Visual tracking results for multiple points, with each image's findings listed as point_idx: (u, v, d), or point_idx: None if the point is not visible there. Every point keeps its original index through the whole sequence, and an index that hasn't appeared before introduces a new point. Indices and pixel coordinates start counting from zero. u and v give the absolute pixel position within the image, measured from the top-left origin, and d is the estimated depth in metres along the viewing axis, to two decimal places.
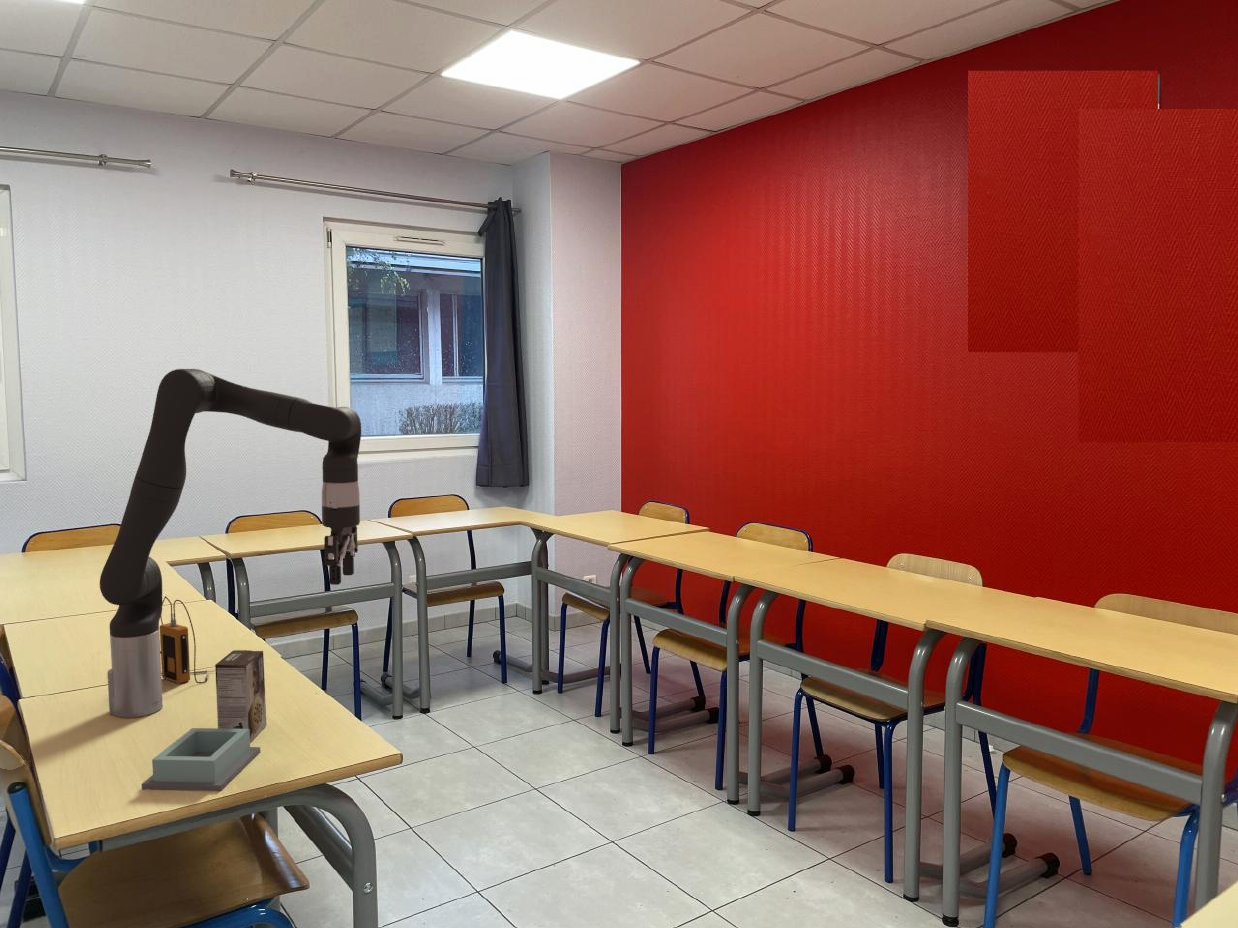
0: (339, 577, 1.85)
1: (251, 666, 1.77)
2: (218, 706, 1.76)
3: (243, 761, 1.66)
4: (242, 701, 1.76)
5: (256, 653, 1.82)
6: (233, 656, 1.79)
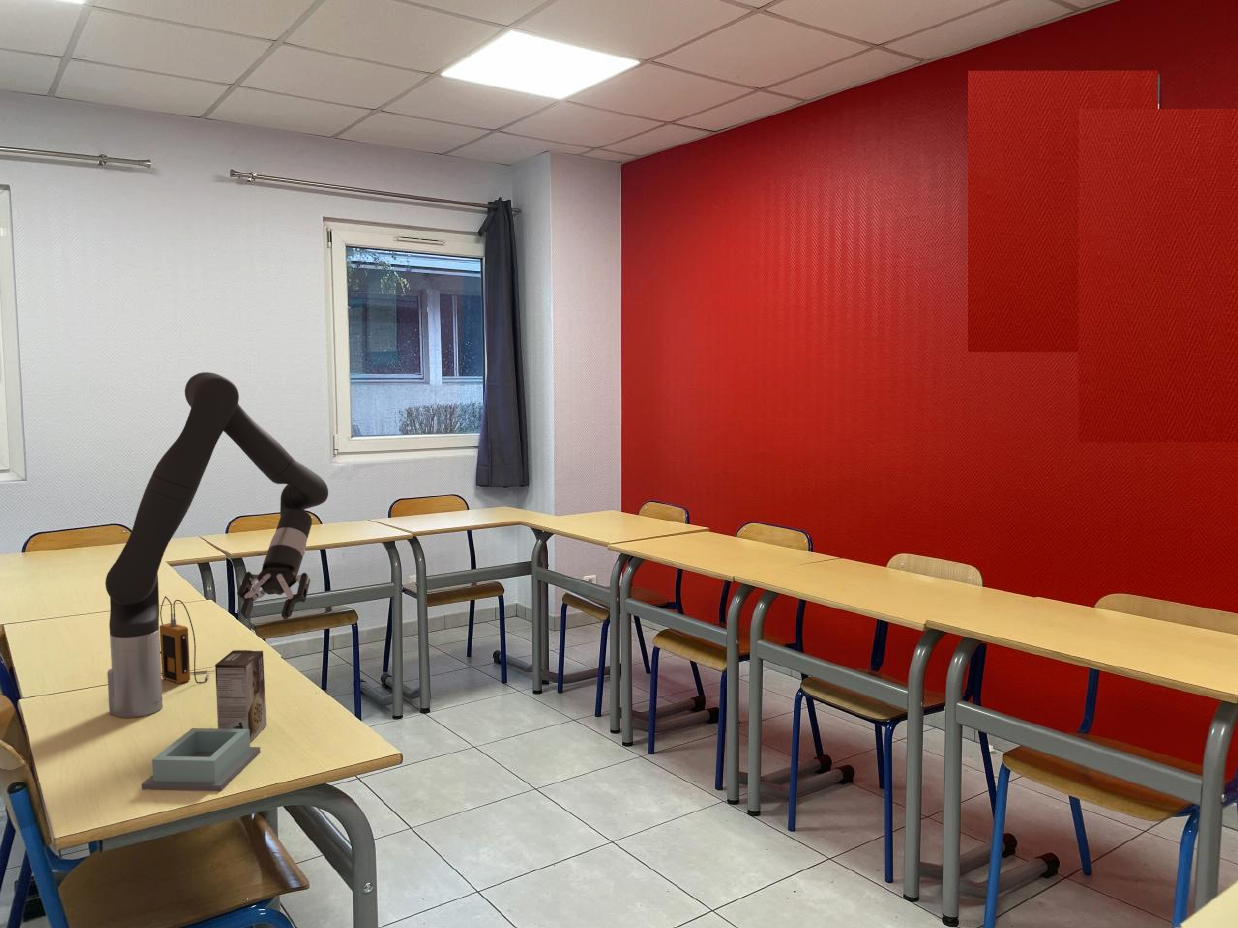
0: None
1: (251, 666, 1.77)
2: (218, 706, 1.76)
3: (243, 761, 1.66)
4: (242, 701, 1.76)
5: (256, 653, 1.82)
6: (233, 656, 1.79)
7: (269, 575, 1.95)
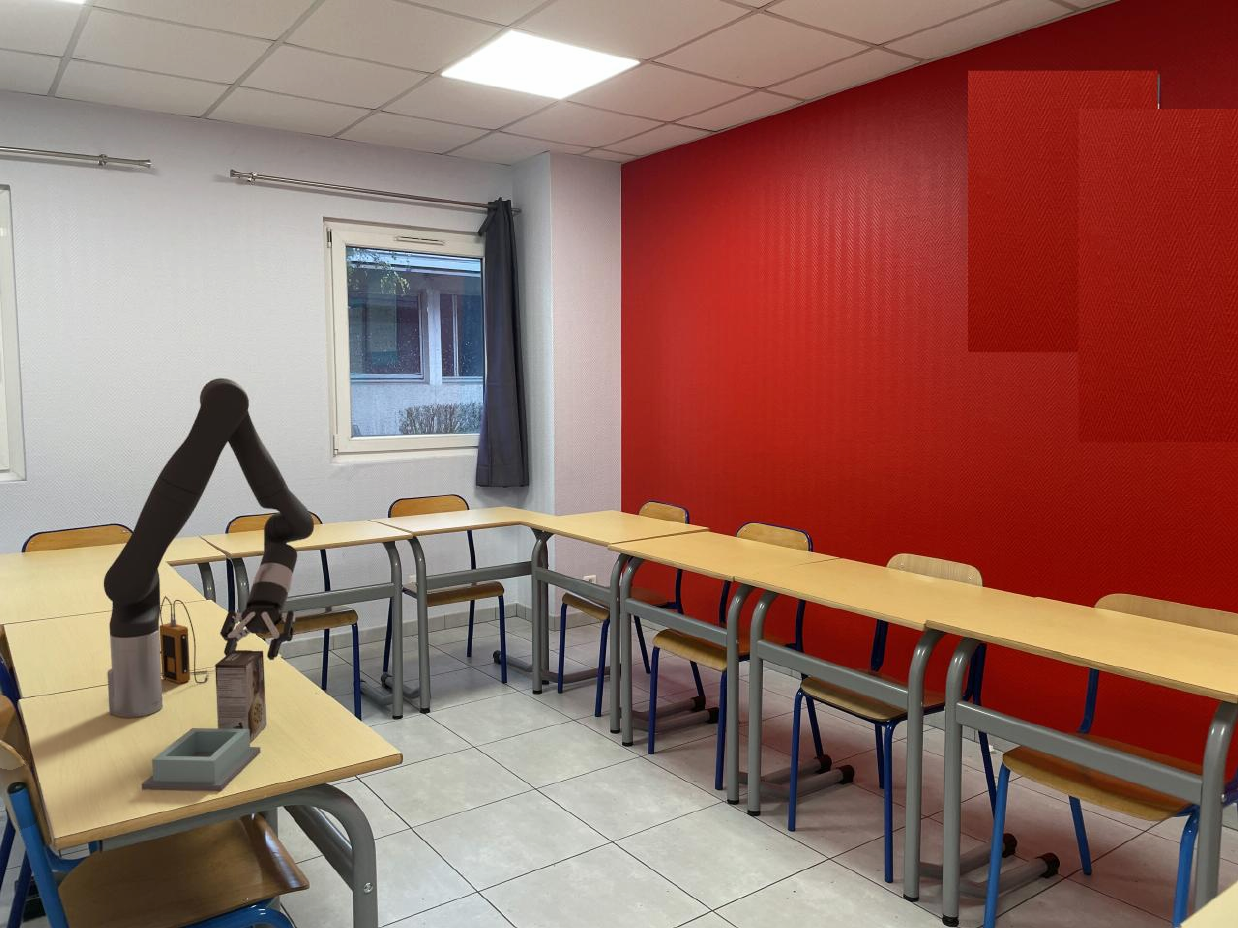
0: None
1: (251, 666, 1.77)
2: (218, 706, 1.76)
3: (243, 761, 1.66)
4: (242, 701, 1.76)
5: (256, 653, 1.82)
6: (233, 656, 1.79)
7: (254, 613, 1.88)
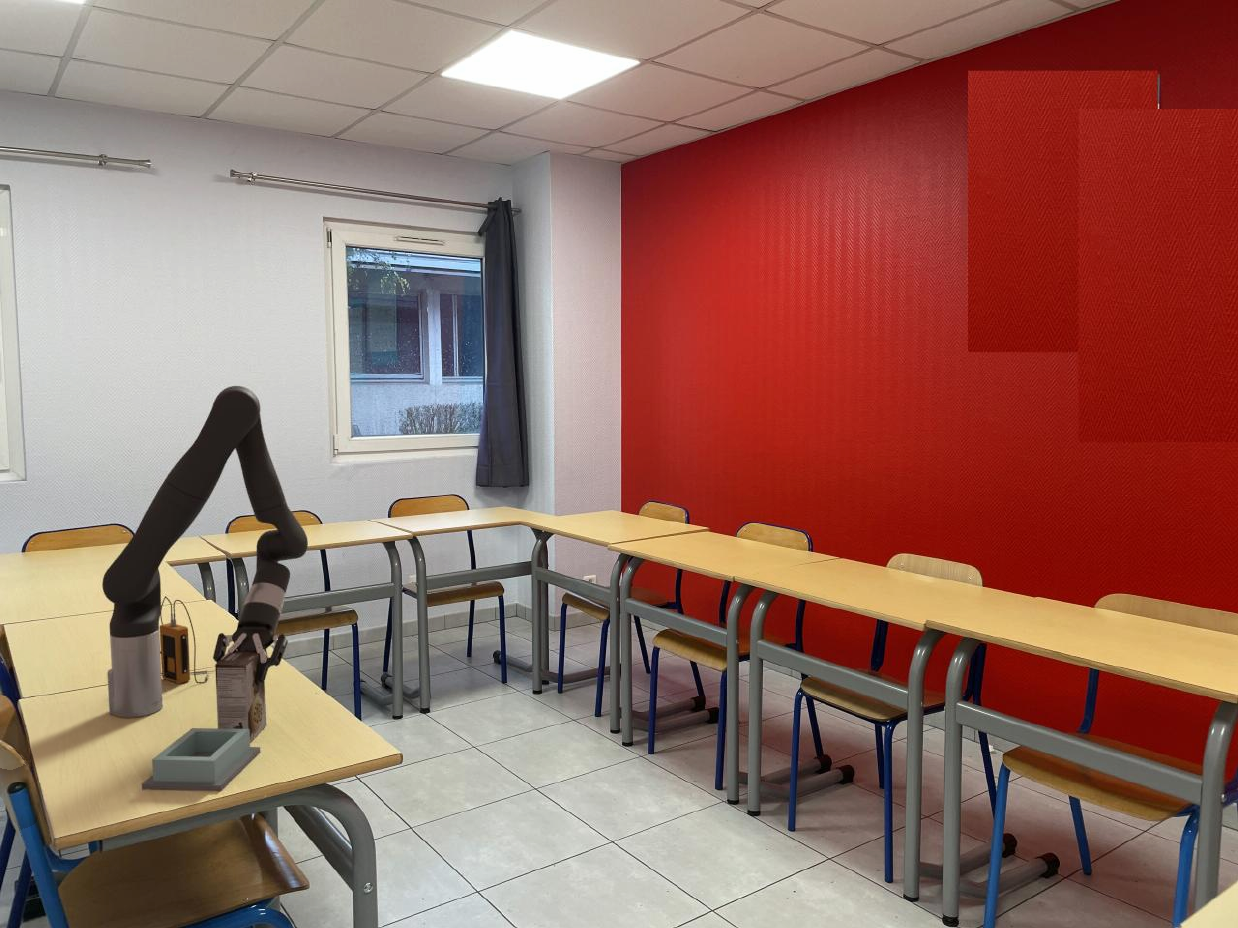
0: None
1: (251, 666, 1.77)
2: (218, 706, 1.76)
3: (243, 761, 1.66)
4: (242, 701, 1.75)
5: (256, 653, 1.82)
6: (233, 655, 1.79)
7: (245, 635, 1.84)
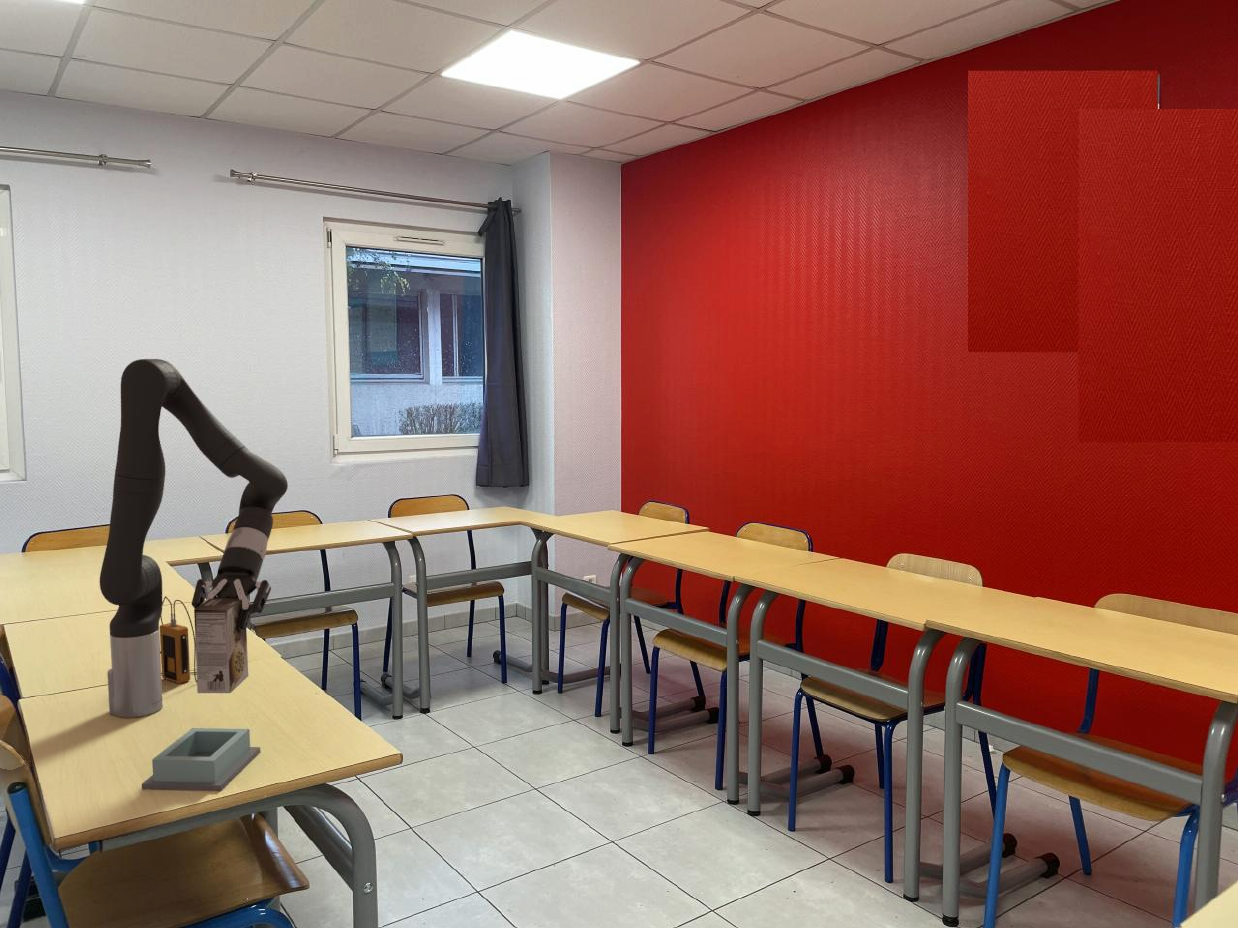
0: None
1: (232, 612, 1.68)
2: (197, 653, 1.66)
3: (243, 761, 1.66)
4: (223, 648, 1.66)
5: (237, 599, 1.72)
6: (213, 601, 1.70)
7: (225, 580, 1.74)
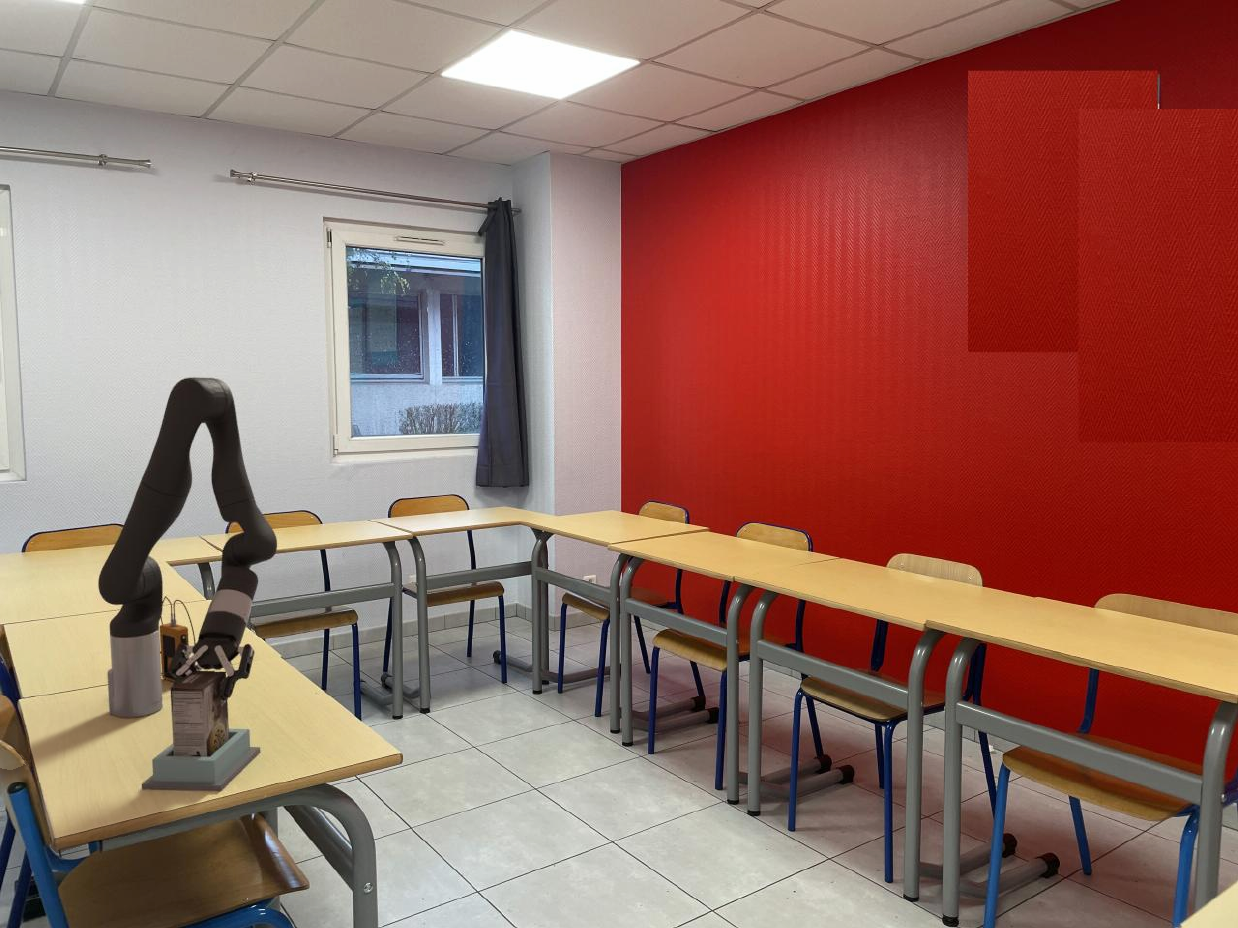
0: None
1: (210, 689, 1.61)
2: (174, 733, 1.60)
3: (243, 761, 1.66)
4: (200, 728, 1.60)
5: (217, 674, 1.66)
6: (191, 677, 1.64)
7: (206, 647, 1.67)
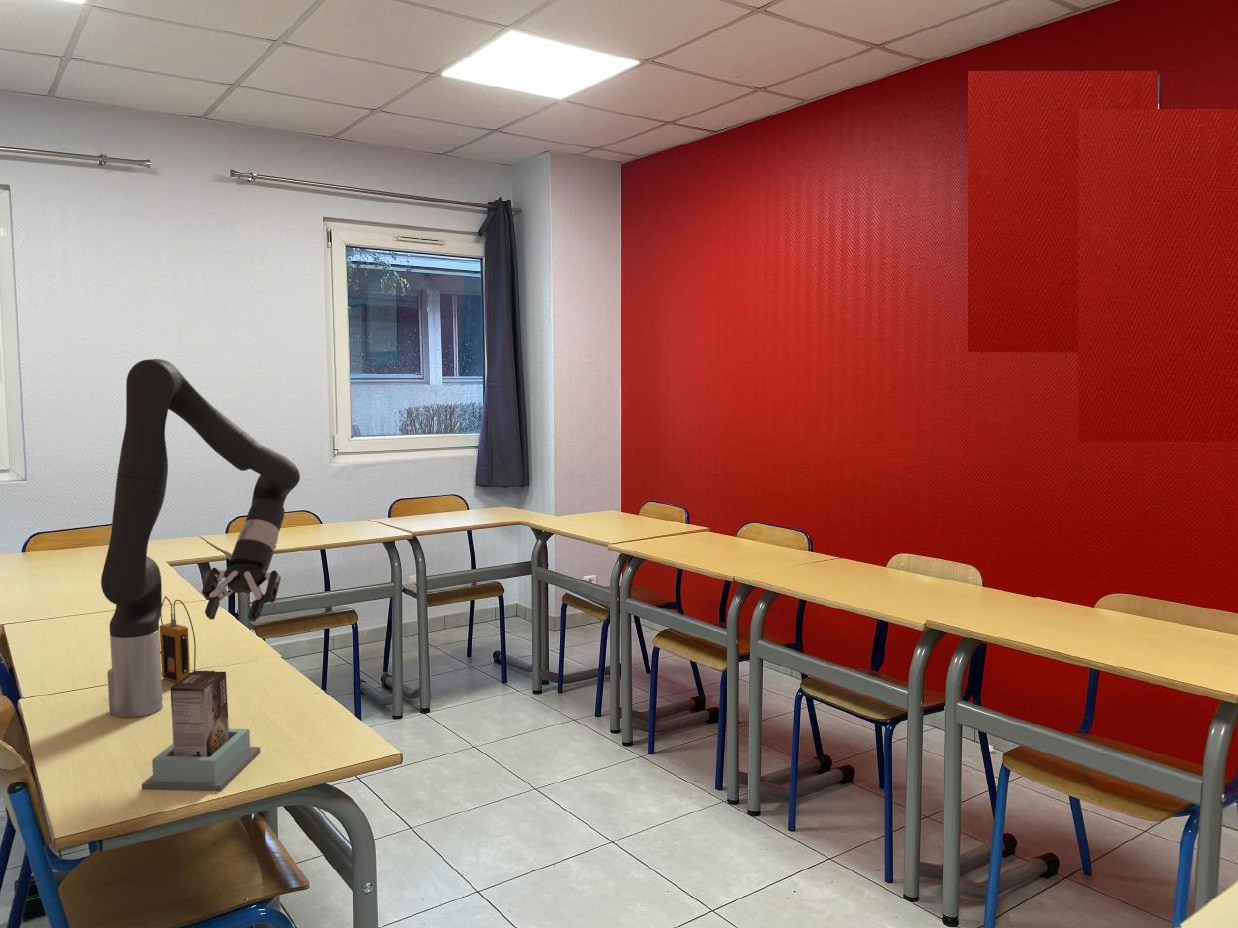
0: None
1: (210, 689, 1.61)
2: (174, 733, 1.60)
3: (243, 761, 1.66)
4: (200, 728, 1.60)
5: (217, 674, 1.66)
6: (191, 677, 1.64)
7: (236, 572, 1.81)
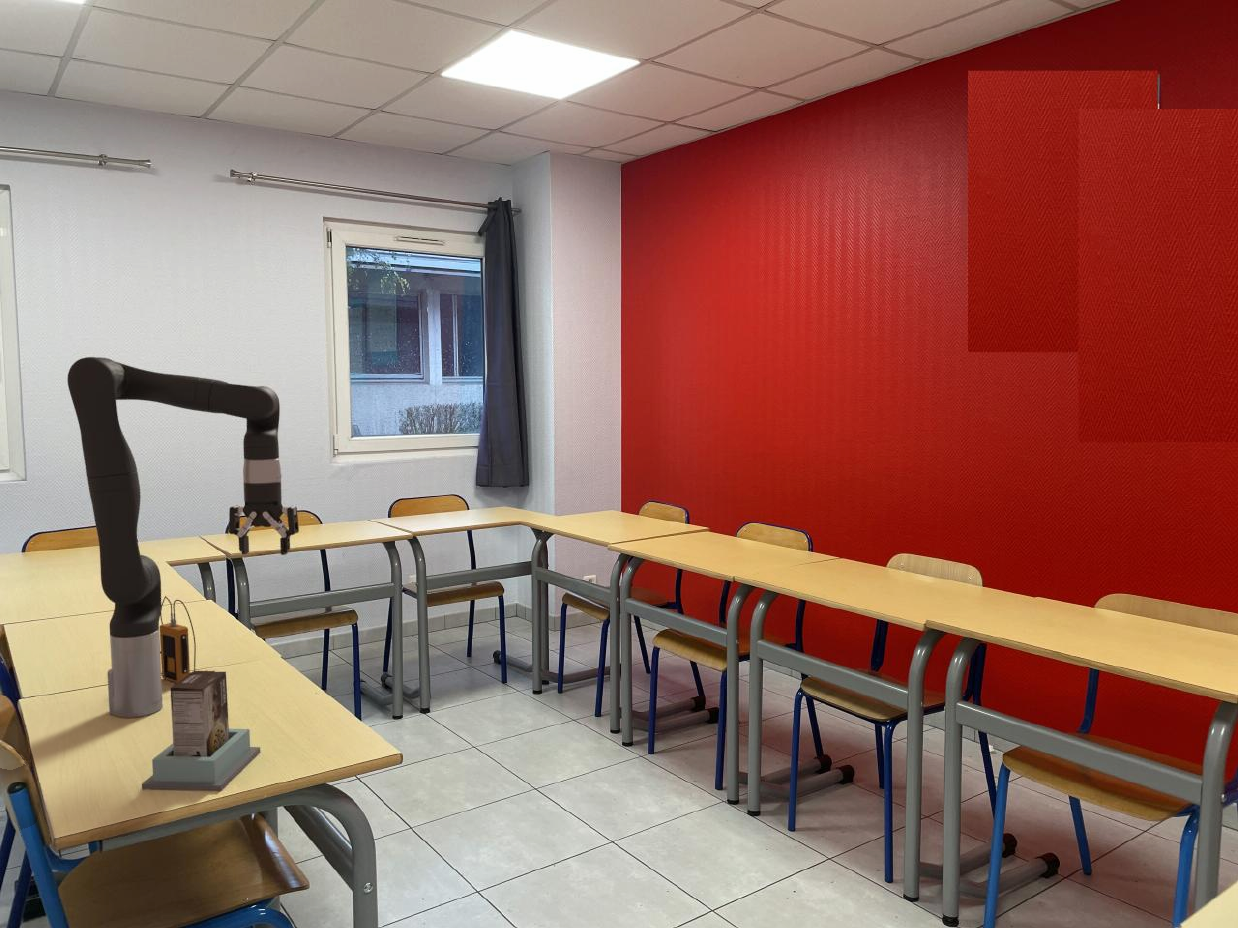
0: None
1: (210, 689, 1.61)
2: (174, 733, 1.60)
3: (243, 761, 1.66)
4: (200, 728, 1.60)
5: (217, 674, 1.66)
6: (191, 677, 1.64)
7: (255, 513, 1.93)
